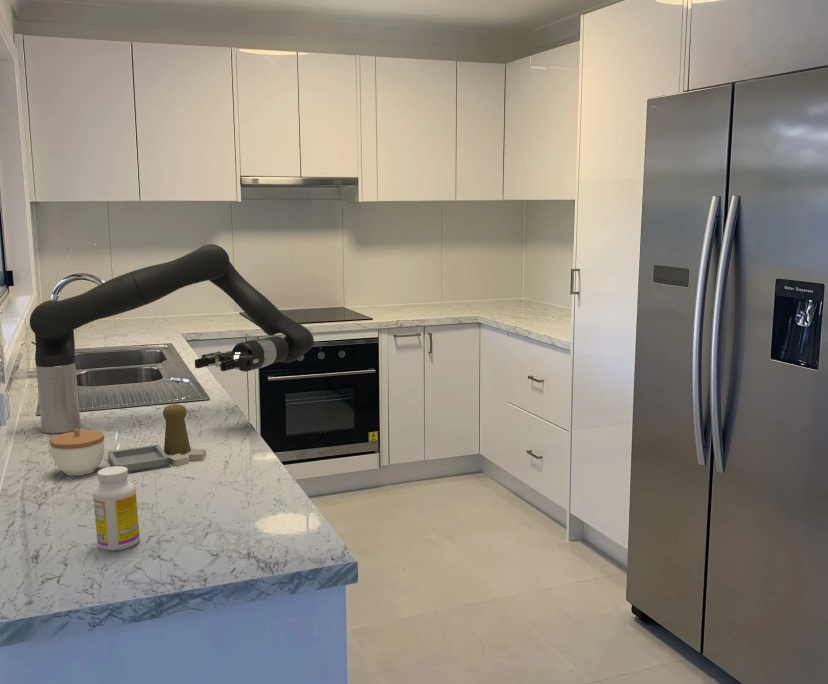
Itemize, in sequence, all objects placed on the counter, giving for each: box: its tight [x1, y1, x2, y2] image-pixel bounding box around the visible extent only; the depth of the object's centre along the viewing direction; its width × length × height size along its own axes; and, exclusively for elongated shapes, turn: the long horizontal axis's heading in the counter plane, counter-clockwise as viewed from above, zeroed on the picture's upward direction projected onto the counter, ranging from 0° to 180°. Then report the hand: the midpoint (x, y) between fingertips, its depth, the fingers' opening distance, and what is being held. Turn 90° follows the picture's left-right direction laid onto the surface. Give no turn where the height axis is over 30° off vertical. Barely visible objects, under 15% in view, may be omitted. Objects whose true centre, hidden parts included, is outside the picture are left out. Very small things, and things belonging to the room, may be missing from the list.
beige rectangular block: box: [188, 448, 207, 462], centre depth 181 cm, size 4×3×2 cm
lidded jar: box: [49, 428, 105, 476], centre depth 172 cm, size 11×11×9 cm
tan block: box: [167, 454, 189, 468], centre depth 178 cm, size 4×3×2 cm
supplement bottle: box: [92, 466, 141, 552], centre depth 134 cm, size 7×7×13 cm
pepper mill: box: [162, 403, 192, 456], centre depth 186 cm, size 6×6×11 cm
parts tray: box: [107, 444, 171, 475], centre depth 178 cm, size 12×11×2 cm
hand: (208, 365), depth 193 cm, fingers open, 8 cm apart
